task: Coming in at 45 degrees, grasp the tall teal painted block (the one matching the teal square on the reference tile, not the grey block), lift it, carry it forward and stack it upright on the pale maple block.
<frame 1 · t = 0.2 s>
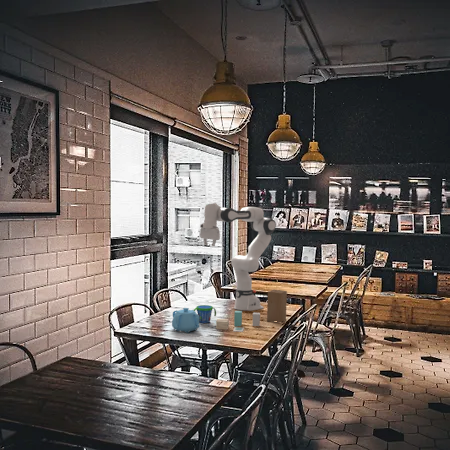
hand: (209, 245, 354), 48 cm above the table, tool pointing down, fingers open, 8 cm apart
maple block: (222, 328, 315), on the table
decorative pot: (185, 330, 307), on the table
teal block: (237, 325, 322), on the table
snack cup: (204, 322, 329), on the table
wooden block: (276, 321, 338), on the table
reference tile: (238, 329, 311), on the table
grey block: (256, 325, 323), on the table
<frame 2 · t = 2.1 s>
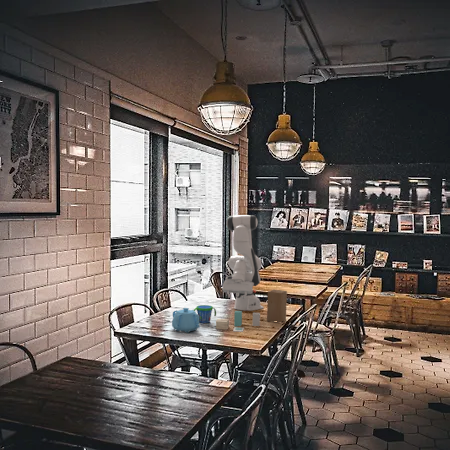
hand: (236, 297, 332), 16 cm above the table, tool tilted 45°, fingers open, 8 cm apart
nothing on the table moved.
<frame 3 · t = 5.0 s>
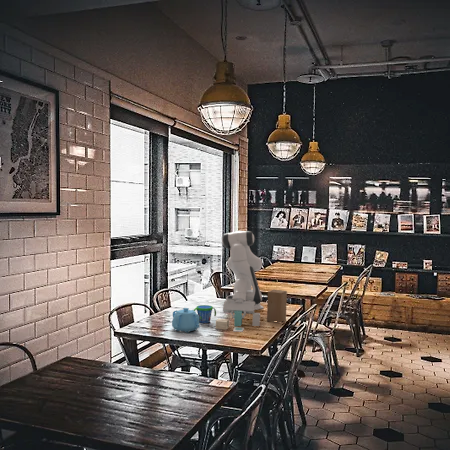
hand: (238, 318, 321), 5 cm above the table, tool tilted 45°, fingers closed on teal block, 4 cm apart
teal block: (237, 325, 322), on the table, touching gripper
everything else where it was.
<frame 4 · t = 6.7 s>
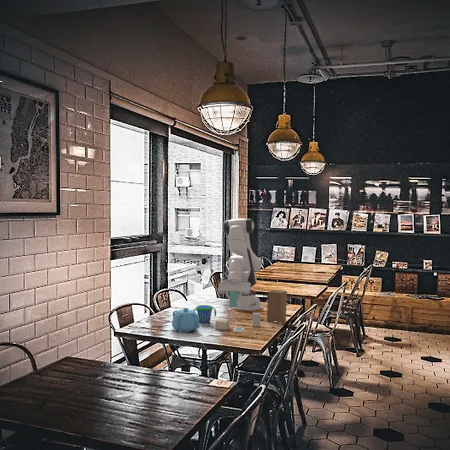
hand: (233, 298, 316), 18 cm above the table, tool tilted 45°, fingers closed on teal block, 4 cm apart
teal block: (233, 306, 317), point 13 cm above the table, touching gripper
everything else where it was.
when the fingers open (11 cm above the table, at t = 8.6 s): teal block drops 1 cm, point 5 cm above the table.
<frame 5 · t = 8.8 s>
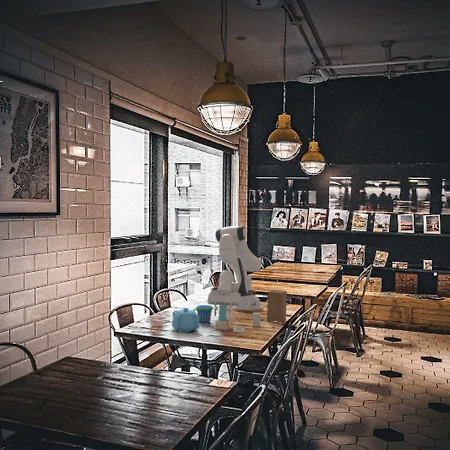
hand: (222, 310, 314), 11 cm above the table, tool tilted 45°, fingers open, 6 cm apart
teal block: (222, 320, 315), point 5 cm above the table
everything else where it was.
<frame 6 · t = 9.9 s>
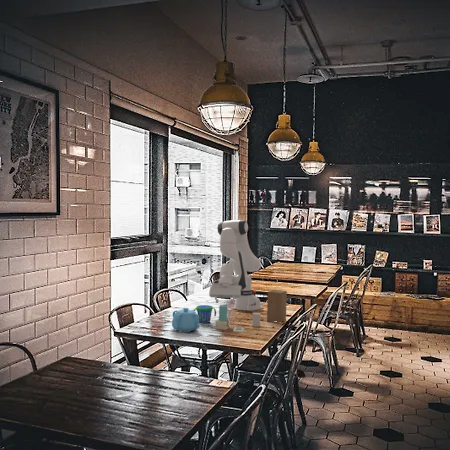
hand: (224, 302, 320), 15 cm above the table, tool tilted 45°, fingers open, 8 cm apart
nothing on the table moved.
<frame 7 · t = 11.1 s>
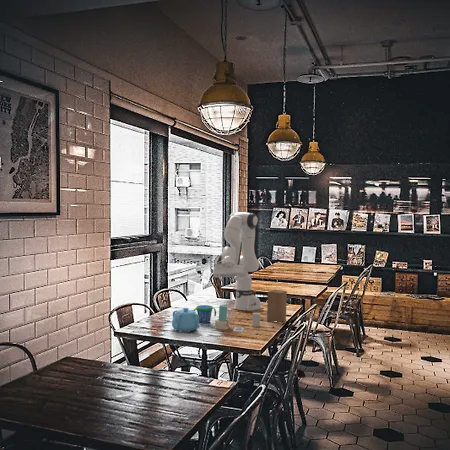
hand: (228, 280, 326), 28 cm above the table, tool tilted 55°, fingers open, 8 cm apart
maple block: (222, 328, 315), on the table, touching teal block
teal block: (222, 320, 315), point 5 cm above the table, touching maple block
everything else where it was.
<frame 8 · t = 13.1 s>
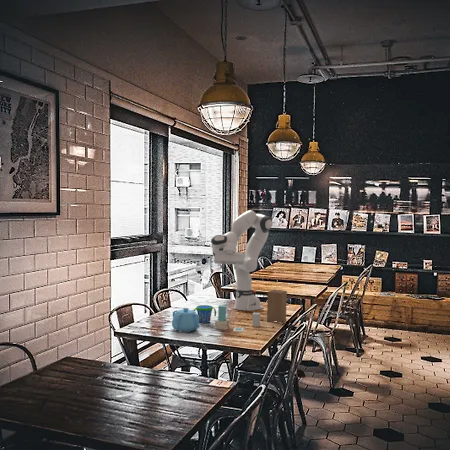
hand: (228, 268, 337), 34 cm above the table, tool tilted 45°, fingers open, 8 cm apart
maple block: (222, 328, 315), on the table
teal block: (221, 320, 315), point 5 cm above the table
everything else where it was.
at the end: teal block 0.4 cm off-centre on the maple block, point 5.1 cm above the maple block's base; teal block tilted 1°; the gripper is holding nothing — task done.
